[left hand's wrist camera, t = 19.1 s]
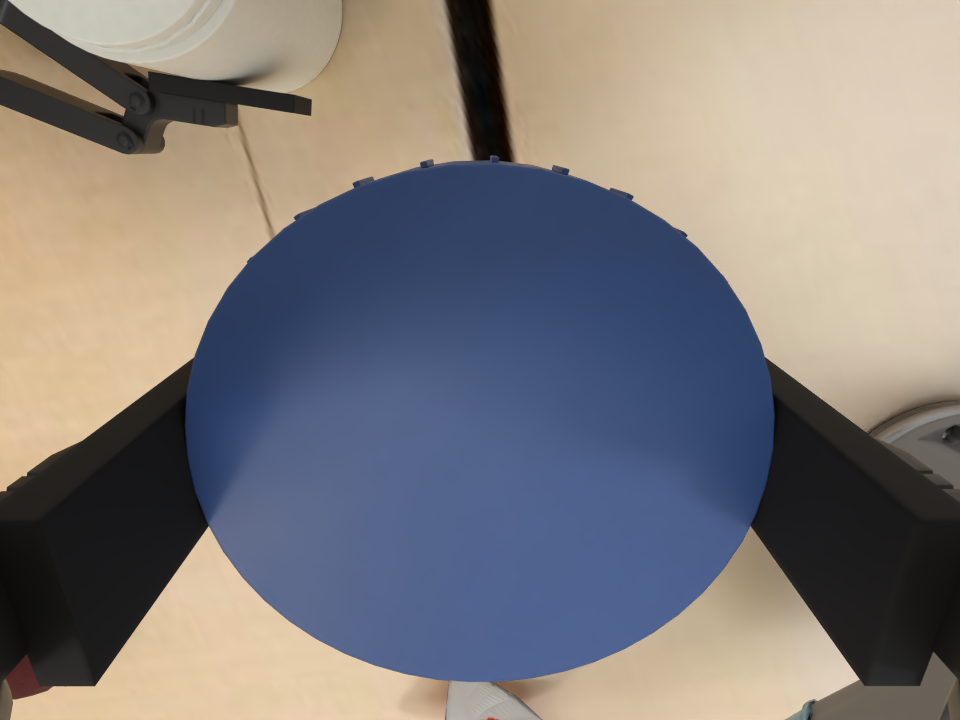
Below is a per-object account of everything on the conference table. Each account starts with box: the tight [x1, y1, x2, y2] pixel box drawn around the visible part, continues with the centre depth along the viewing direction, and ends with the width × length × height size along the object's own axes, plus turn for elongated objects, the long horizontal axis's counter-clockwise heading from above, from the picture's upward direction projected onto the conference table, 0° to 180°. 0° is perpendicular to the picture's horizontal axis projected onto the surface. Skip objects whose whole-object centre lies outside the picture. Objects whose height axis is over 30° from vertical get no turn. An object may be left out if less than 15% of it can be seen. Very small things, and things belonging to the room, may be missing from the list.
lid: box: [185, 156, 775, 682], centre depth 11 cm, size 11×11×2 cm
